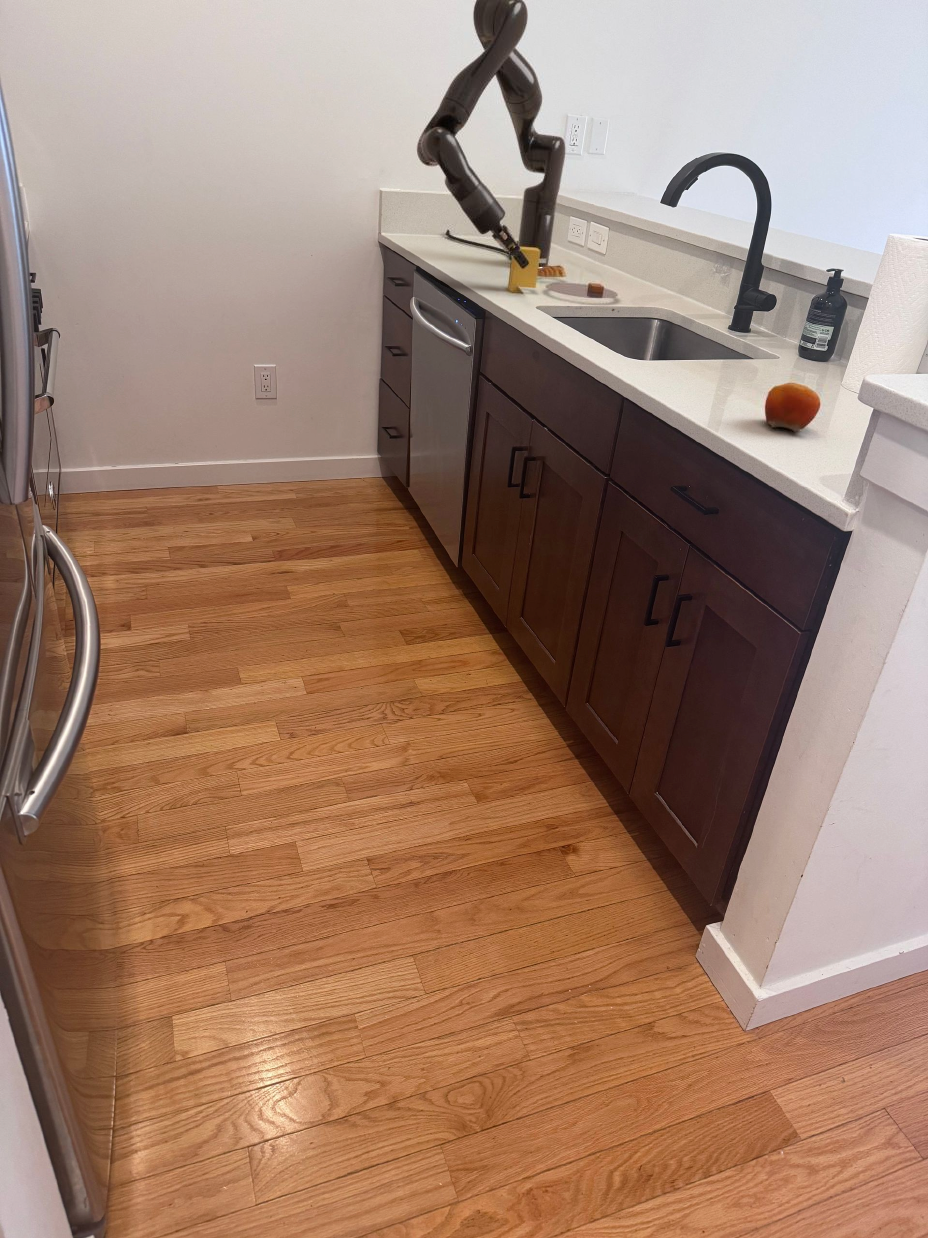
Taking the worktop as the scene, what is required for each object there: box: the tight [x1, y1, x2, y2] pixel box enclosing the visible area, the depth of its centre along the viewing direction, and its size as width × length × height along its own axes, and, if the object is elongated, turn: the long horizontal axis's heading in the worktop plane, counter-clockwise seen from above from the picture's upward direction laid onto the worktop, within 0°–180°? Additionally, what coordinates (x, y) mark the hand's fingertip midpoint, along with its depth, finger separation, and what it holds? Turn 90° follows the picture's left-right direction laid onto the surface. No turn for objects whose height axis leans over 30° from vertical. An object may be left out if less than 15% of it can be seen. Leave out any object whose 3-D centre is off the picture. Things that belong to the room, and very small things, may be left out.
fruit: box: [764, 382, 821, 436], centre depth 136 cm, size 8×8×8 cm
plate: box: [545, 282, 619, 299], centre depth 218 cm, size 18×18×2 cm
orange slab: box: [587, 282, 605, 293], centre depth 218 cm, size 4×3×2 cm
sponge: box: [507, 246, 540, 294], centre depth 214 cm, size 4×6×10 cm
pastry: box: [537, 264, 567, 278], centre depth 233 cm, size 9×7×4 cm
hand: (522, 262), depth 214 cm, fingers open, 8 cm apart
